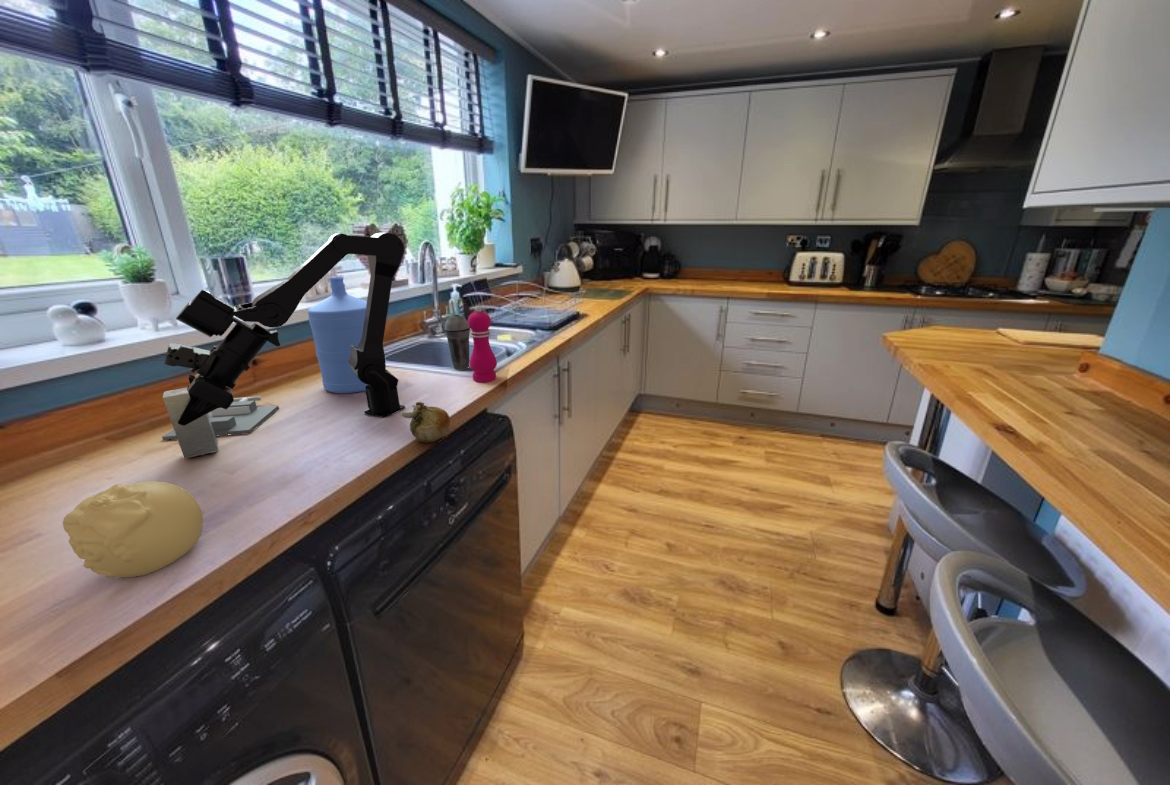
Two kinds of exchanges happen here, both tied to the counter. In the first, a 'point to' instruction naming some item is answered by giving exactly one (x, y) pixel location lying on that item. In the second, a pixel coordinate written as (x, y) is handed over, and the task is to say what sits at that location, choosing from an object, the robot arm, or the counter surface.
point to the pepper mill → (481, 347)
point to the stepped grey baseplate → (236, 417)
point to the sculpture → (134, 528)
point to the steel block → (189, 426)
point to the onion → (427, 422)
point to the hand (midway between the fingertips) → (181, 420)
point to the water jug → (338, 337)
